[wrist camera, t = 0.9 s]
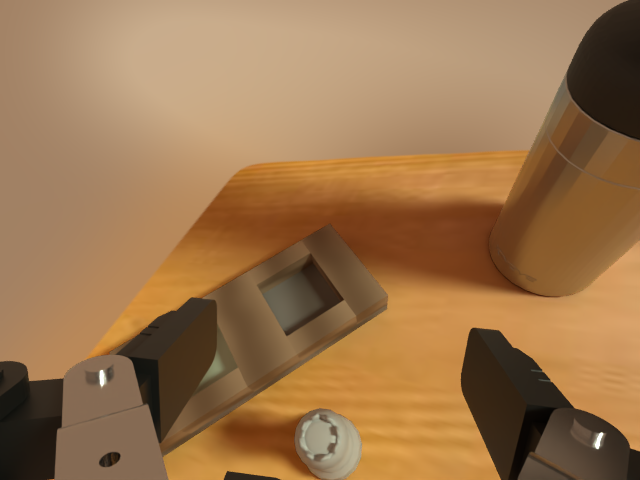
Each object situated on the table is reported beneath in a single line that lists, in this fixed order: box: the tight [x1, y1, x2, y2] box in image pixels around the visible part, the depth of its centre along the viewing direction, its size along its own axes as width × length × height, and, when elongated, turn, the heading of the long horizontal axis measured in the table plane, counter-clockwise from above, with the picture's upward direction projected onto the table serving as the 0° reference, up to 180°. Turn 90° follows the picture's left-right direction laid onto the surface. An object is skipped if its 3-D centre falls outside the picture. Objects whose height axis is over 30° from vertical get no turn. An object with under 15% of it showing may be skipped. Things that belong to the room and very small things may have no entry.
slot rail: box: [109, 224, 388, 457], centre depth 32 cm, size 22×9×3 cm, turn 122°
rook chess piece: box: [294, 408, 362, 480], centre depth 25 cm, size 4×4×8 cm
